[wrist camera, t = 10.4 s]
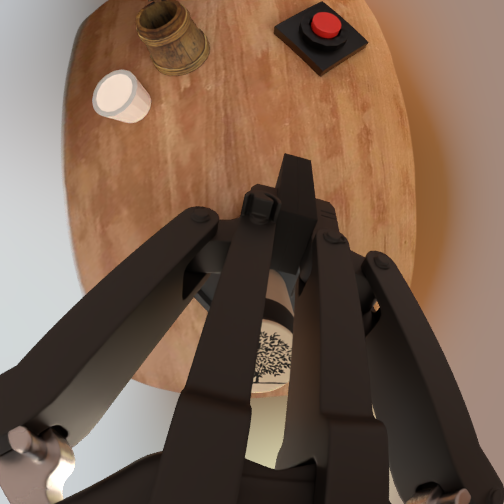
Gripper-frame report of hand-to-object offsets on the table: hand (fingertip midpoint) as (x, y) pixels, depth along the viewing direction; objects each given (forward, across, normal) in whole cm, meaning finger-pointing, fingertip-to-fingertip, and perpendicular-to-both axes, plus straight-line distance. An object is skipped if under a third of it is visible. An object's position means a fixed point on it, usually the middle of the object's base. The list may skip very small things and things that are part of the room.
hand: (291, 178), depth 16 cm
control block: (+32, +1, +12) cm, 34 cm away
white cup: (+24, -23, -3) cm, 34 cm away
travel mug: (+14, +1, -23) cm, 27 cm away
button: (+29, +1, +14) cm, 32 cm away
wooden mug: (+30, -19, +8) cm, 36 cm away
